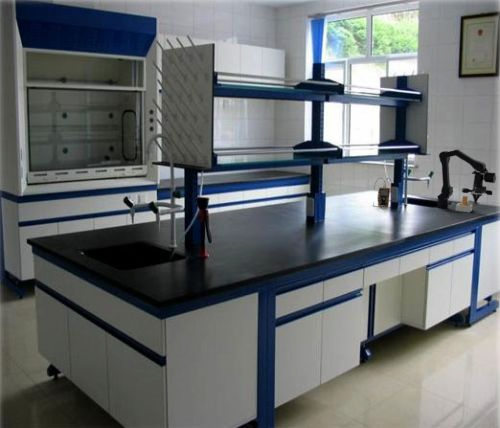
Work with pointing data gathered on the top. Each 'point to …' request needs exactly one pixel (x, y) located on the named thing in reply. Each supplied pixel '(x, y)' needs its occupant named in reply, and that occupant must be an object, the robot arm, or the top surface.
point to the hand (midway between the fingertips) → (475, 204)
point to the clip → (473, 202)
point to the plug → (464, 201)
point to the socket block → (464, 208)
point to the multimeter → (383, 195)
